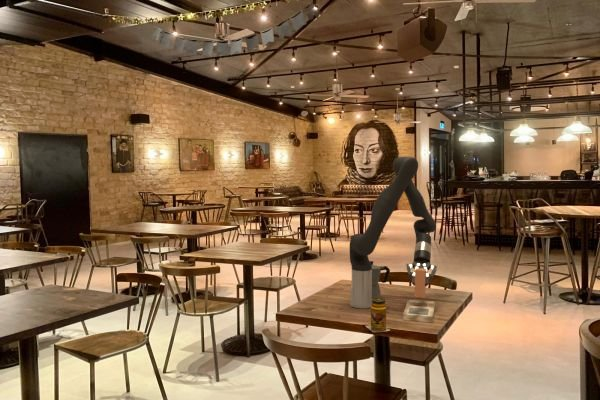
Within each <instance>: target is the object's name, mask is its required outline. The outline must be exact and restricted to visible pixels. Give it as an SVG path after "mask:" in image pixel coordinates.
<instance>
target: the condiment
mask: <svg viewBox="0 0 600 400" xmlns="http://www.w3.org/2000/svg"><path fill="white" fill-rule="evenodd" d="M365 327H366V328H367V329H368V330H370V331H371V332H372V333H382V332H389V331H391V329H390V328H387V307H386V300H385V299H384V298H377V299H373V300H372V306H371V307H370V324H369V325H365Z"/></svg>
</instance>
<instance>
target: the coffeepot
mask: <svg viewBox="0 0 600 400" xmlns="http://www.w3.org/2000/svg"><path fill="white" fill-rule="evenodd" d="M369 261H370V262H371V264H372V300H373V299H377V298H379V299H381V298H382V294H381V293H382V292H381V288H380V284H379V281H380V278H381V273H382V271H385V276H384V277H383V280H381V281H380V282H381V283H382V284H384V283H387V280H388V278H389V275H390V272H391V269H390V268H389V267H388V266H386V265H382V266H381V265H376V264H374V261H373V260H369Z"/></svg>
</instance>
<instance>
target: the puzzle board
mask: <svg viewBox="0 0 600 400" xmlns="http://www.w3.org/2000/svg"><path fill="white" fill-rule="evenodd" d="M435 309H436V302H435V301H433V300H432V301H431V300H421V299H418V300H417V299H408V300H407V302H406V305H405V307H404V310H403V314H402V320H403V321H410V322H421V323H434V322H433V321H434V314H435Z"/></svg>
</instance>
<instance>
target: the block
mask: <svg viewBox="0 0 600 400" xmlns="http://www.w3.org/2000/svg"><path fill="white" fill-rule="evenodd" d="M425 279H426V269H421V268H416V269H415V286H414V298H423V299H424V298H426V290H427V289H426V288H427V287H425Z"/></svg>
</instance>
